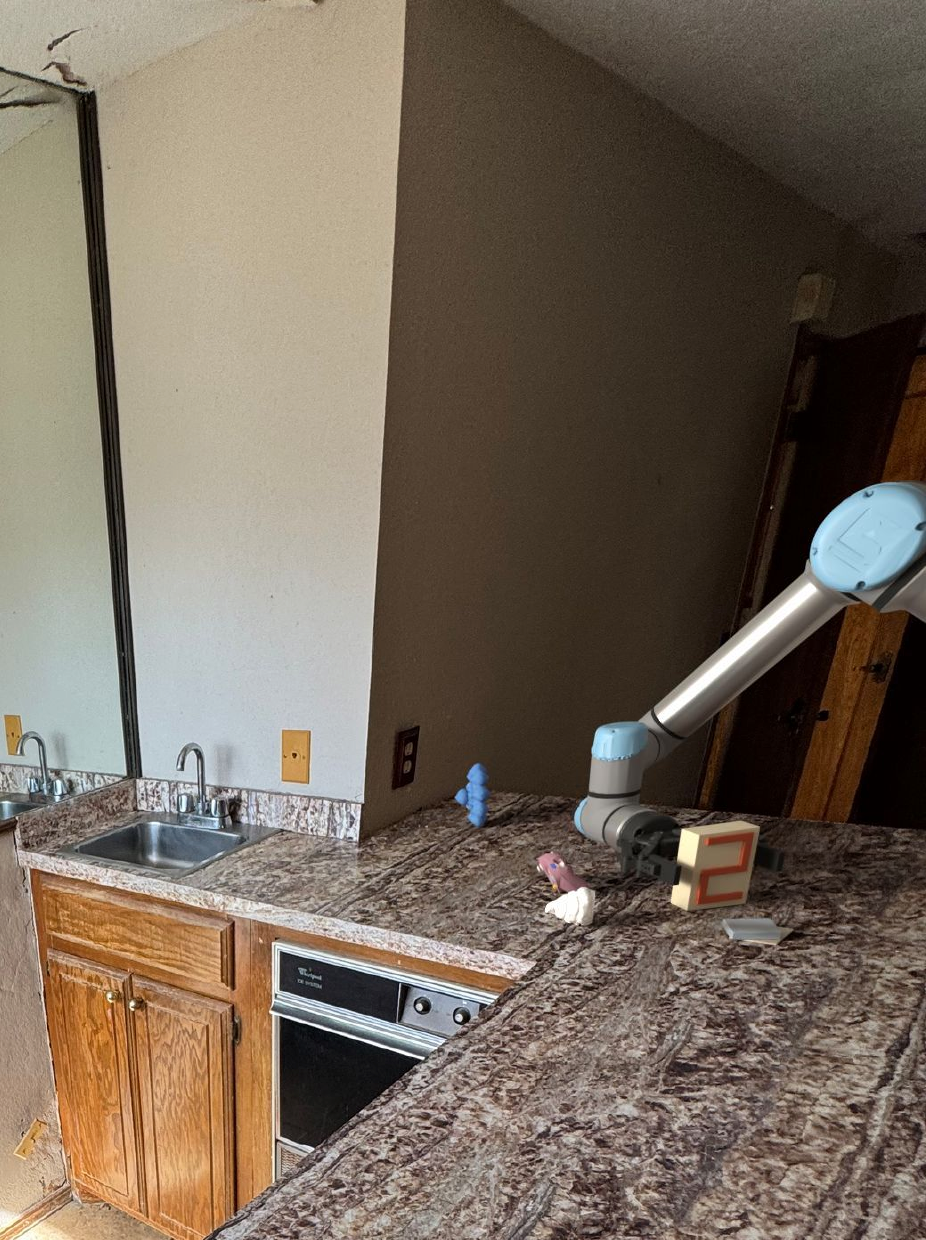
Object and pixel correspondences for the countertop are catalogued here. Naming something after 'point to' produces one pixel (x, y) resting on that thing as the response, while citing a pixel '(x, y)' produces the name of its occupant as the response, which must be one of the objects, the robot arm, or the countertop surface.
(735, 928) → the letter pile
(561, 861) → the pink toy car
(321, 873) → the countertop surface
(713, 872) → the cream digit block
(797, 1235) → the countertop surface
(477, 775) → the grapes
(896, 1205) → the countertop surface
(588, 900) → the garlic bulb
